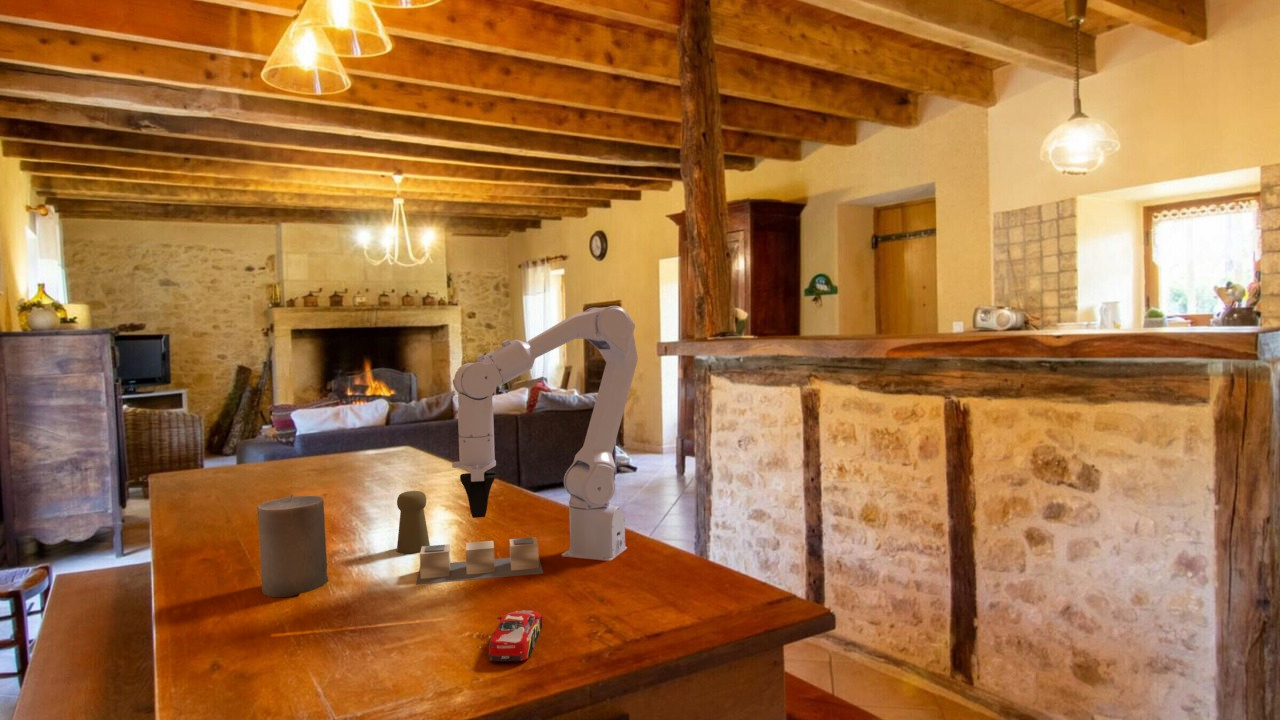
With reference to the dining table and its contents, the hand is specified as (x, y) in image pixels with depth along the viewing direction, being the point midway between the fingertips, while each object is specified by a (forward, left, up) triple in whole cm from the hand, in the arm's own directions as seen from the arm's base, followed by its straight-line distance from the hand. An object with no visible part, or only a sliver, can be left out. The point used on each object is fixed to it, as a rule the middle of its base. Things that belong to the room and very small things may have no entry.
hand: (478, 516), depth 126 cm
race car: (-21, +23, -10) cm, 33 cm away
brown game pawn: (+18, -7, -10) cm, 22 cm away
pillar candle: (+24, +15, -10) cm, 31 cm away
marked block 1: (+6, +4, -9) cm, 11 cm away
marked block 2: (-6, -4, -9) cm, 11 cm away
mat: (0, 0, -9) cm, 9 cm away
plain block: (0, 0, -9) cm, 9 cm away
